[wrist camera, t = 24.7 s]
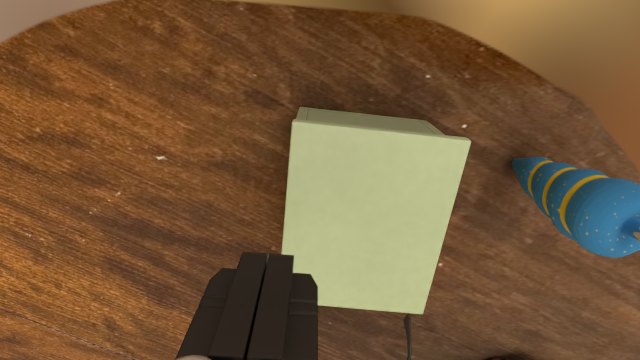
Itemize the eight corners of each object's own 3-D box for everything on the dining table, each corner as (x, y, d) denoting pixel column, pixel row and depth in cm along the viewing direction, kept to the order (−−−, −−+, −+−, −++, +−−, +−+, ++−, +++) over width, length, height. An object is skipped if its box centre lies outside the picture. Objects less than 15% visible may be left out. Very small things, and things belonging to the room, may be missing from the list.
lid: (292, 118, 23) (291, 121, 22) (467, 137, 23) (471, 140, 22) (278, 295, 28) (277, 302, 27) (420, 307, 28) (423, 314, 28)
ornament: (477, 174, 34) (588, 269, 20) (507, 125, 32) (652, 191, 18) (523, 192, 34) (661, 296, 20) (554, 145, 32) (730, 224, 19)
